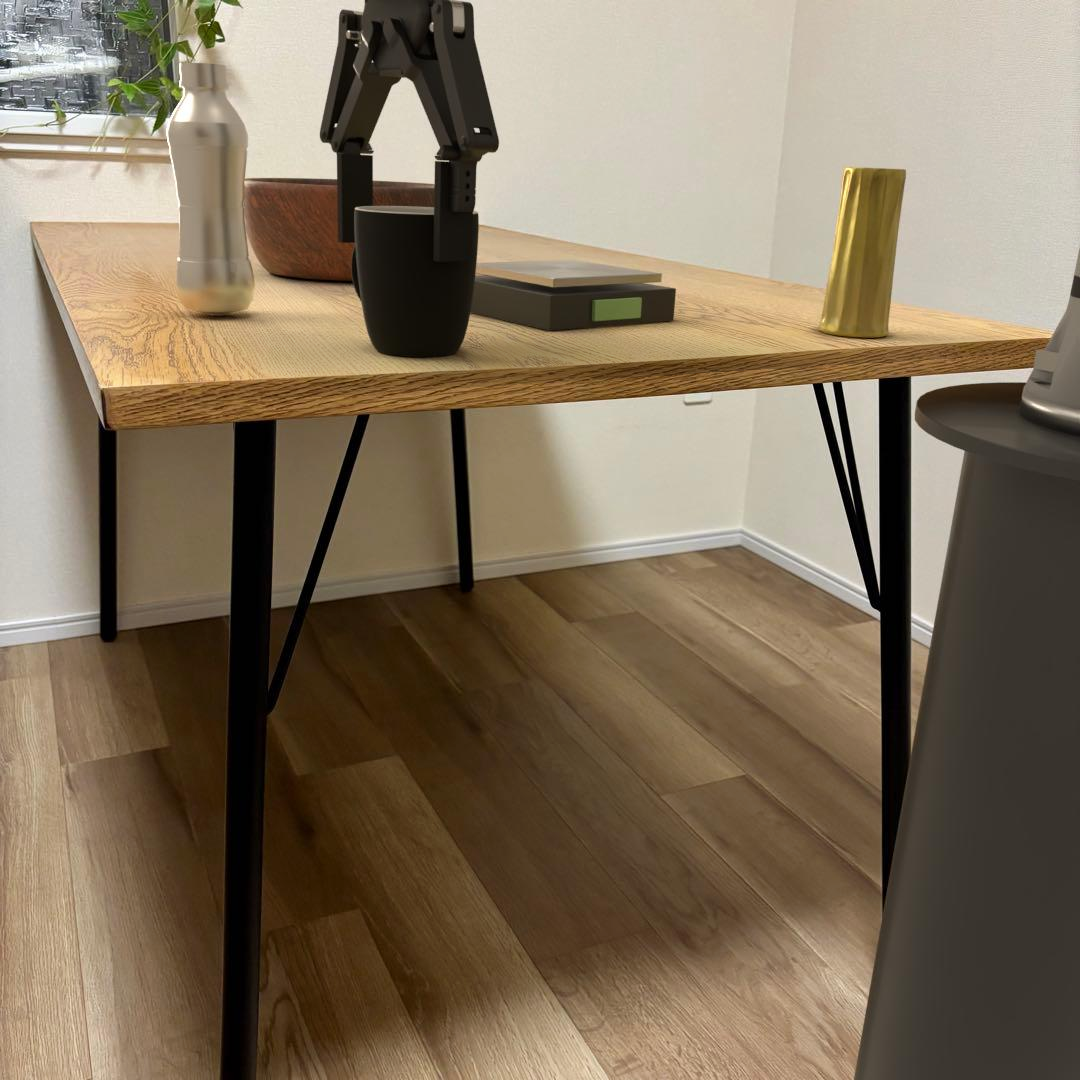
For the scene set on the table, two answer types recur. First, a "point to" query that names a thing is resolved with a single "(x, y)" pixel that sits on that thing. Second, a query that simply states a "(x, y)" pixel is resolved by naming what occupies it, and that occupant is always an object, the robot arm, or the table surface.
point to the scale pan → (566, 273)
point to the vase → (864, 253)
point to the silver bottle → (210, 194)
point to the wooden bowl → (311, 223)
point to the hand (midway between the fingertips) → (401, 251)
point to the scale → (571, 304)
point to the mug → (410, 282)
